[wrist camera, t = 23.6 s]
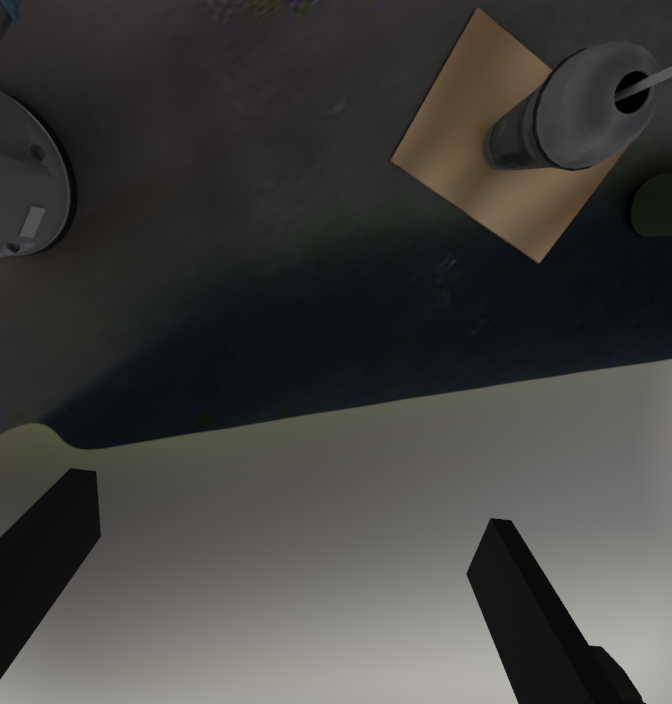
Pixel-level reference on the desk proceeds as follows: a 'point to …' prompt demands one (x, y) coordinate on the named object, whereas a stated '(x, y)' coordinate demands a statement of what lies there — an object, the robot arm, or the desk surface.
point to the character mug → (653, 207)
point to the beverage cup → (579, 111)
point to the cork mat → (468, 135)
